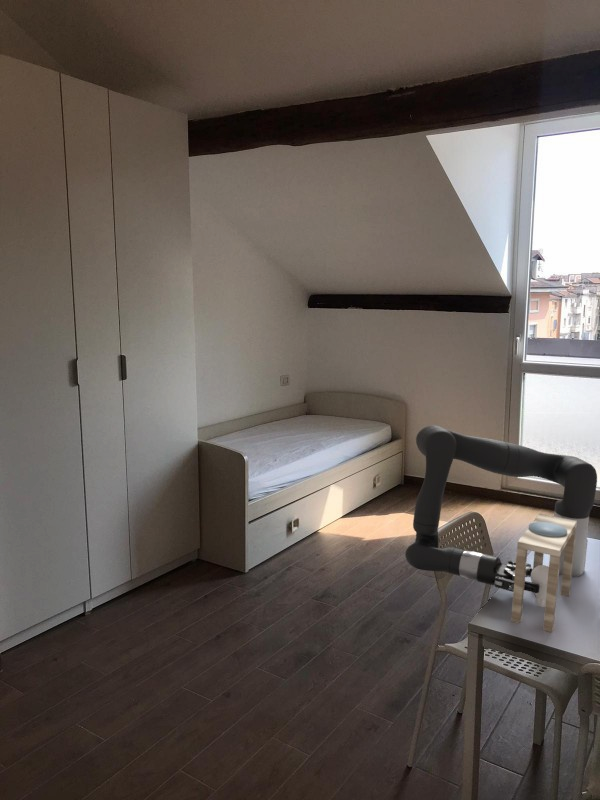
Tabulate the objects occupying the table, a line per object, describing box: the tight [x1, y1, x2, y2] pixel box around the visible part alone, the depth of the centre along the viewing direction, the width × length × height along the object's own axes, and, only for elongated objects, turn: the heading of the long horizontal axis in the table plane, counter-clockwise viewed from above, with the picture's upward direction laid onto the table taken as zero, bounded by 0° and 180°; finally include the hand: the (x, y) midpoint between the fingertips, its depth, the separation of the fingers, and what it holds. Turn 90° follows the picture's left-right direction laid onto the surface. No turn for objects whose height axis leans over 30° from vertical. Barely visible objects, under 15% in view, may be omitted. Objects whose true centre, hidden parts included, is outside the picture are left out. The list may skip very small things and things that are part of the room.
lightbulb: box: [530, 564, 549, 608], centre depth 165 cm, size 6×6×11 cm
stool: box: [510, 513, 577, 633], centre depth 164 cm, size 24×10×21 cm, turn 148°
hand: (542, 582), depth 165 cm, fingers open, 8 cm apart
